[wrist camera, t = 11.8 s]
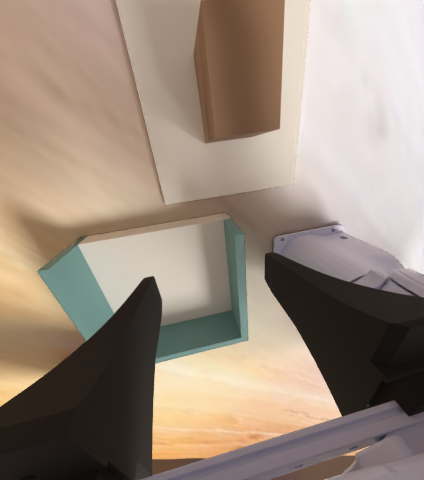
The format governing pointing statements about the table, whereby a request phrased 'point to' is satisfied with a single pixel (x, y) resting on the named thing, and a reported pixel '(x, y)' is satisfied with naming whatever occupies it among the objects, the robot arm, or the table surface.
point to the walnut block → (239, 67)
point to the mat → (189, 111)
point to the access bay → (160, 281)
